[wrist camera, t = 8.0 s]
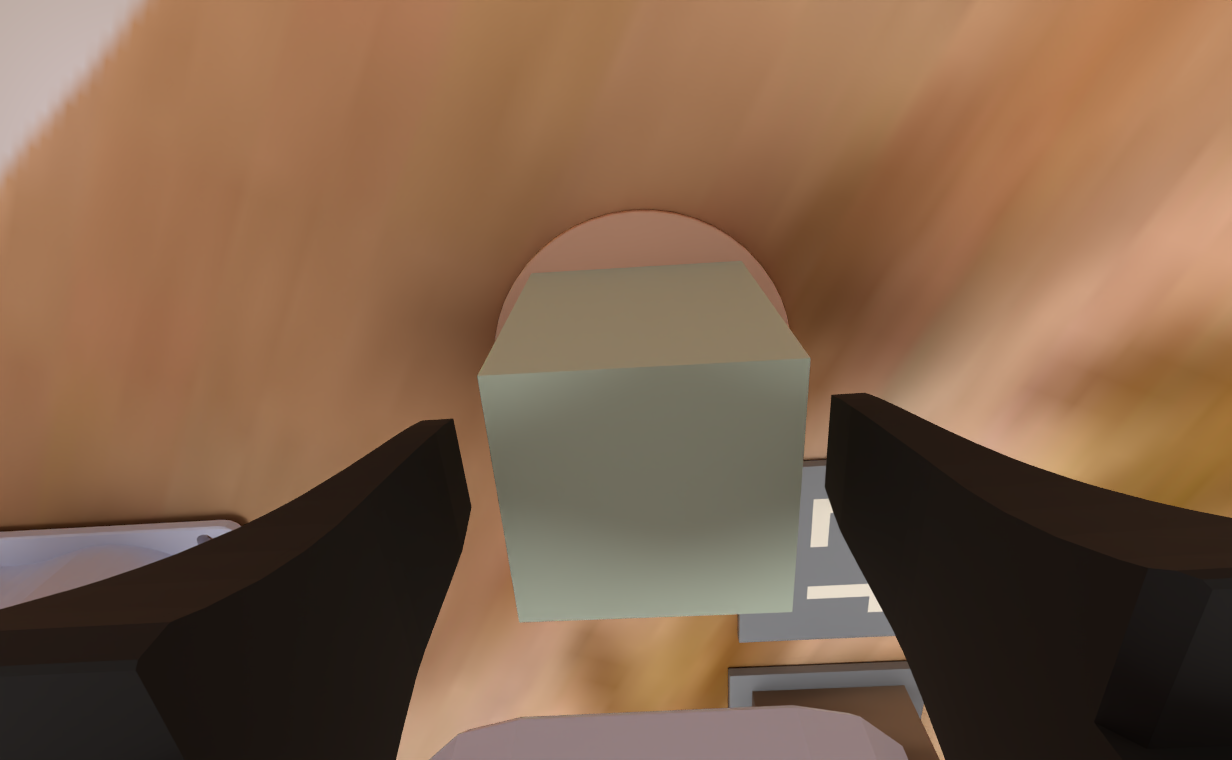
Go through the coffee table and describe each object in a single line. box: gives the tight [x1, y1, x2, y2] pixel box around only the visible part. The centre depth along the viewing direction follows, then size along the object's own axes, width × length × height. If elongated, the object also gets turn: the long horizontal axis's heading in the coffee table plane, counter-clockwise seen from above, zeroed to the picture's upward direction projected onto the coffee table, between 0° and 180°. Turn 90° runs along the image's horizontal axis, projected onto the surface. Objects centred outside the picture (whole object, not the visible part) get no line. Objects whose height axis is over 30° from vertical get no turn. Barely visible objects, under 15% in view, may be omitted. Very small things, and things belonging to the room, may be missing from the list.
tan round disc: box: [495, 210, 789, 341], centre depth 16 cm, size 8×8×1 cm
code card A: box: [738, 460, 895, 643], centre depth 19 cm, size 6×6×1 cm
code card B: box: [728, 661, 924, 719], centre depth 22 cm, size 6×6×1 cm
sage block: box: [477, 261, 811, 622], centre depth 13 cm, size 5×5×6 cm
